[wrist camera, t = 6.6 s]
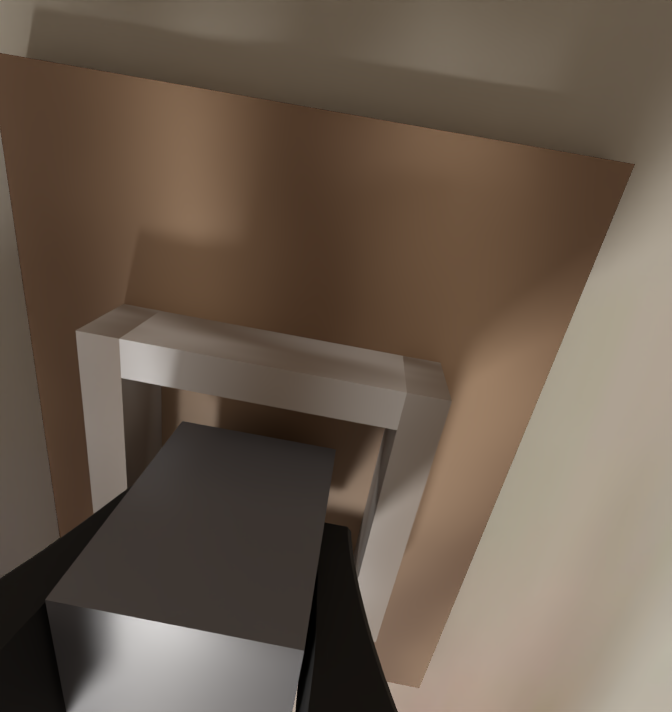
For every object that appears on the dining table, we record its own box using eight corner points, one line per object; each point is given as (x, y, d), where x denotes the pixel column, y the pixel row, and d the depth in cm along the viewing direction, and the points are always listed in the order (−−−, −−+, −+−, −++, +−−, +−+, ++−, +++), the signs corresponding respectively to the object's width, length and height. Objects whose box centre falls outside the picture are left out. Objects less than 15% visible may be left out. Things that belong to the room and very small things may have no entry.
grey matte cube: (181, 534, 13) (71, 739, 8) (182, 421, 11) (45, 599, 7) (315, 560, 13) (278, 782, 8) (336, 449, 11) (304, 650, 6)
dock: (87, 595, 18) (35, 671, 15) (23, 60, 10) (-106, 24, 8) (417, 661, 18) (423, 751, 15) (611, 164, 10) (698, 164, 7)
